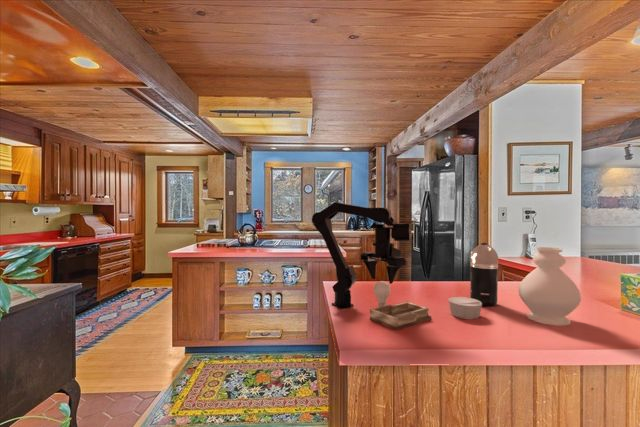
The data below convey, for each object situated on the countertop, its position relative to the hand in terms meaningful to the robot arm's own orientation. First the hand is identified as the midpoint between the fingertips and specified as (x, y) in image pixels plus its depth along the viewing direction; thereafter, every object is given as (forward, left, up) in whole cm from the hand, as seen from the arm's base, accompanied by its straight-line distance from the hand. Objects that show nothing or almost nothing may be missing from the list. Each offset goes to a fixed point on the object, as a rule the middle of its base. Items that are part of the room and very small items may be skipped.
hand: (382, 281), depth 123 cm
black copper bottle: (+17, +41, -11) cm, 46 cm away
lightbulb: (0, 0, -11) cm, 11 cm away
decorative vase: (+40, +41, -11) cm, 58 cm away
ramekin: (+21, +21, -11) cm, 32 cm away
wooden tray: (+11, -2, -11) cm, 16 cm away
